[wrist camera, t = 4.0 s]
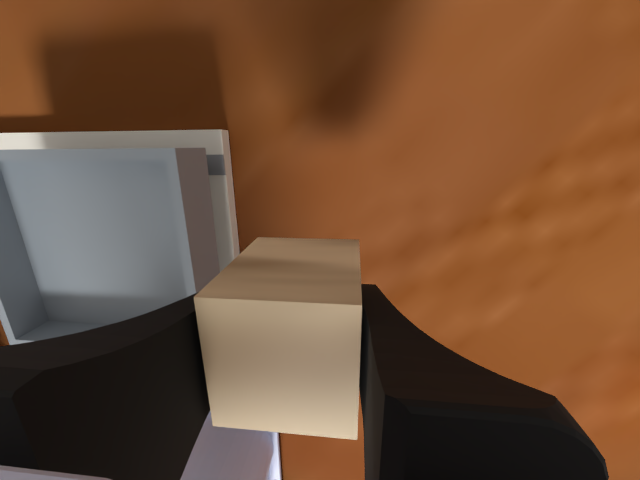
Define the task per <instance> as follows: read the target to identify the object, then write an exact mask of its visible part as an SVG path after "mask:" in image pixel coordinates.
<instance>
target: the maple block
mask: <svg viewBox="0 0 640 480" xmlns="http://www.w3.org/2000/svg"><path fill="white" fill-rule="evenodd" d="M194 304H195V311H196V317H197V324H198V331H199V337H200V344H201V351H202V358H203V364H204V371H205V378H206V384H207V391H208V398H209V404H210V411H211V418H212V424H213V426H217V427H227V428H238V429H248V430H259V431H269V432H280V433H290V434H301V435H311V436H322V437H332V438H343V439H353V440H357V431H358V404H359V377H360V350H361V323H362V292H361V270H360V249H359V240H350V239H308V238H267V237H257V238H256V239H255V240H254V241H253V242H252V243H251V244H250V245H249V246H248V247H247V248H246V249H245V250H244V251H243V252H241V253H240V254H239V255H238V256H237V257H236V258H235V259H234V260H233V261H232V262H231V263H230V264H229V265H228V266H226V267H225V268H224V269H223V270H222V271H221V272H220V273H219V274H218V275H217V276H216V277H215V278H214V279H213V280H211V281H210V282H209V283H208V284H207V285H206V286H205V287H204V288H203V289H202V290H201V291H200V292H199V293H198V294H196V295H195V296H194Z"/></svg>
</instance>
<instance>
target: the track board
mask: <svg viewBox="0 0 640 480" xmlns="http://www.w3.org/2000/svg"><path fill="white" fill-rule="evenodd" d="M118 148H205V149H206V157H207V166H208V174H209V183H210V191H211V200H212V208H213V217H214V225H215V234H216V242H217V251H218V259H219V268H220V272H221V271H222V270H223V269H224V268H225V267H226V266H228V265H229V264H230V263H231V262H232V261H233V260H234V259H235V258H236V257H237V256H238V255H239V254H240V251H239V240H238V230H237V219H236V208H235V198H234V187H233V177H232V166H231V156H230V145H229V134H228V130H222V129H217V130H156V131H95V132H34V133H0V150H13V149H118Z"/></svg>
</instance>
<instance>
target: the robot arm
mask: <svg viewBox="0 0 640 480" xmlns="http://www.w3.org/2000/svg"><path fill="white" fill-rule="evenodd" d="M361 292H362V323H361V350H360V377H359V388H360V397H361V406H362V415H363V427H364V458H365V480H608V478H609V476H608V472H607V467H606V463H605V459H604V458H603V456H602V455H601V453H600V452H599V450H598V449H597V448H596V446H595V445H594V443H593V442H592V441H591V440H590V438H589V437H588V436H587V434H586V433H585V432H584V431H583V429H582V428H581V427H580V426H579V424H578V423H577V422H576V421H575V419H574V418H573V417H572V416H571V415H570V413H569V412H568V411H567V410H566V409H565V407H564V406H563V405H562V404H561V403H560V402H559V401H558V399H557V398H556V397H555V396H553V395H550V394H547V393H545V392H542V391H540V390H537V389H534V388H532V387H529V386H526V385H524V384H521V383H519V382H516V381H513V380H511V379H508V378H506V377H503V376H501V375H499V374H497V373H495V372H492V371H490V370H488V369H486V368H484V367H482V366H479V365H477V364H475V363H473V362H471V361H469V360H468V359H466V358H464V357H462V356H460V355H458V354H457V353H455V352H453V351H452V350H450V349H448V348H446V347H445V346H443V345H441V344H440V343H438V342H437V341H435V340H434V339H432V338H431V337H430V336H428V335H427V334H425V333H424V332H423V331H421V330H420V329H419V328H417V327H416V326H415V325H414V324H412V323H411V322H410V321H409V320H408V319H407V318H406V317H405V316H403V315H402V314H401V313H400V312H399V311H398V310H397V309H396V308H395V307H394V306H393V305H392V303H391V302H390V301H389V300H388V299H387V298H386V297H385V295H384V294H383V293H382V292H381V291H380V289H379V288H378V287H377V286H376V285H372V284H361ZM198 293H199V292H197V293H195V294H193V295H191V296H188V297H186V298H184V299H181V300H179V301H176V302H174V303H171V304H169V305H166V306H164V307H162V308H159V309H157V310H154V311H151V312H148V313H145V314H143V315H140V316H137V317H133V318H130V319H127V320H124V321H121V322H117V323H114V324H110V325H106V326H102V327H98V328H94V329H90V330H86V331H83V332H78V333H74V334H69V335H64V336H60V337H55V338H49V339H44V340H38V341H33V342H27V343H21V344H14V345H7V346H0V480H282V476H281V461H280V446H279V432H269V431H259V430H248V429H238V428H227V427H217V426H213V424H212V418H211V411H210V404H209V398H208V391H207V384H206V378H205V371H204V364H203V358H202V351H201V344H200V337H199V331H198V324H197V317H196V311H195V304H194V296H195V295H196V294H198Z"/></svg>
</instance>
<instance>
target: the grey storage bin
mask: <svg viewBox="0 0 640 480" xmlns="http://www.w3.org/2000/svg"><path fill="white" fill-rule="evenodd" d="M219 273H220V268H219V259H218V251H217V242H216V234H215V225H214V217H213V208H212V200H211V191H210V183H209V174H208V166H207V157H206V149H205V148H118V149H13V150H0V320H1V322H2V325H3V328H4V330H5V333H6V336H7V338H8V341H9V344H10V345H14V344H21V343H27V342H33V341H38V340H44V339H49V338H55V337H60V336H64V335H69V334H74V333H78V332H83V331H86V330H90V329H94V328H98V327H102V326H106V325H110V324H114V323H117V322H121V321H124V320H127V319H130V318H133V317H137V316H140V315H143V314H145V313H148V312H151V311H154V310H157V309H159V308H162V307H164V306H166V305H169V304H171V303H174V302H176V301H179V300H181V299H184V298H186V297H188V296H191V295H193V294H195V293H197V292H200V291H201V290H202V289H203V288H204V287H205V286H206V285H207V284H208V283H209V282H210V281H211V280H213V279H214V278H215V277H216V276H217V275H218V274H219Z"/></svg>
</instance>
